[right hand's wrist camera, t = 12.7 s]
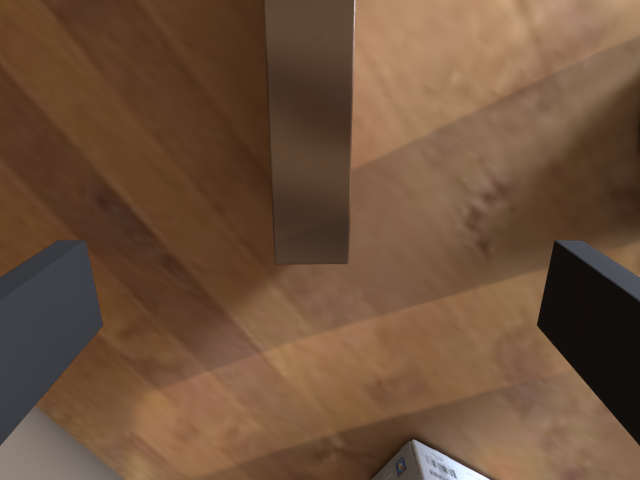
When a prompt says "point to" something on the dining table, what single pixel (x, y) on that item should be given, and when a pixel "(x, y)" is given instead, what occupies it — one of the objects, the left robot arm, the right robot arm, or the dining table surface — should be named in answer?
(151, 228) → the dining table surface
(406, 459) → the hard drive box
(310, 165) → the plank
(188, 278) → the dining table surface
